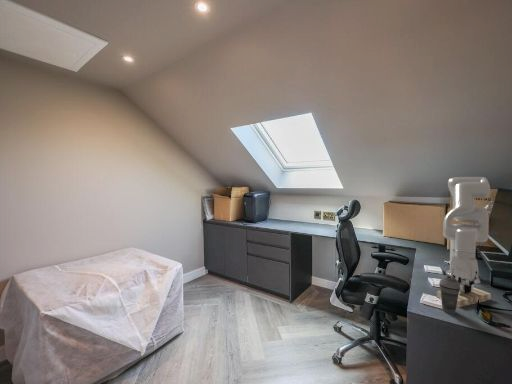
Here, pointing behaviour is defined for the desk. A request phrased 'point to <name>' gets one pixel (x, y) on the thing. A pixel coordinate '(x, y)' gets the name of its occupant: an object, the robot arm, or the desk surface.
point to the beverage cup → (449, 293)
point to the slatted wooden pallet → (470, 297)
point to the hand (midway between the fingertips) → (463, 290)
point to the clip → (462, 287)
